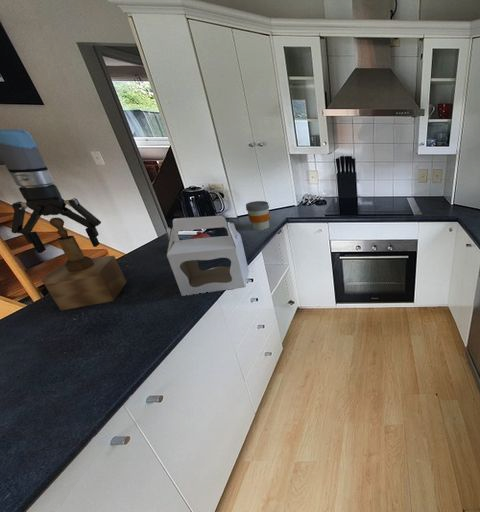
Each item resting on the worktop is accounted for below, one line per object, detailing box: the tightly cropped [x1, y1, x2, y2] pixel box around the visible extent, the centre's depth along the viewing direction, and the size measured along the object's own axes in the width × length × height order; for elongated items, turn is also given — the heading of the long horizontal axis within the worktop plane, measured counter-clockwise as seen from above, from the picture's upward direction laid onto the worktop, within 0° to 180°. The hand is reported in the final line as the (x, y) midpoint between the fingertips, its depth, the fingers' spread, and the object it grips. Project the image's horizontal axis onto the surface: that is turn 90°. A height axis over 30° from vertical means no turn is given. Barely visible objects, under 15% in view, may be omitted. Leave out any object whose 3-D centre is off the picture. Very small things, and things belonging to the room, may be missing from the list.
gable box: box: [166, 214, 250, 297], centre depth 104 cm, size 22×13×28 cm, turn 109°
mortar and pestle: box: [49, 217, 94, 271], centre depth 91 cm, size 7×6×18 cm
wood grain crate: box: [41, 255, 127, 311], centre depth 98 cm, size 14×14×12 cm
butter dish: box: [190, 230, 211, 239], centre depth 138 cm, size 12×12×8 cm
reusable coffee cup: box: [245, 200, 271, 231], centre depth 164 cm, size 13×13×15 cm
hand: (70, 248), depth 92 cm, fingers open, 13 cm apart
